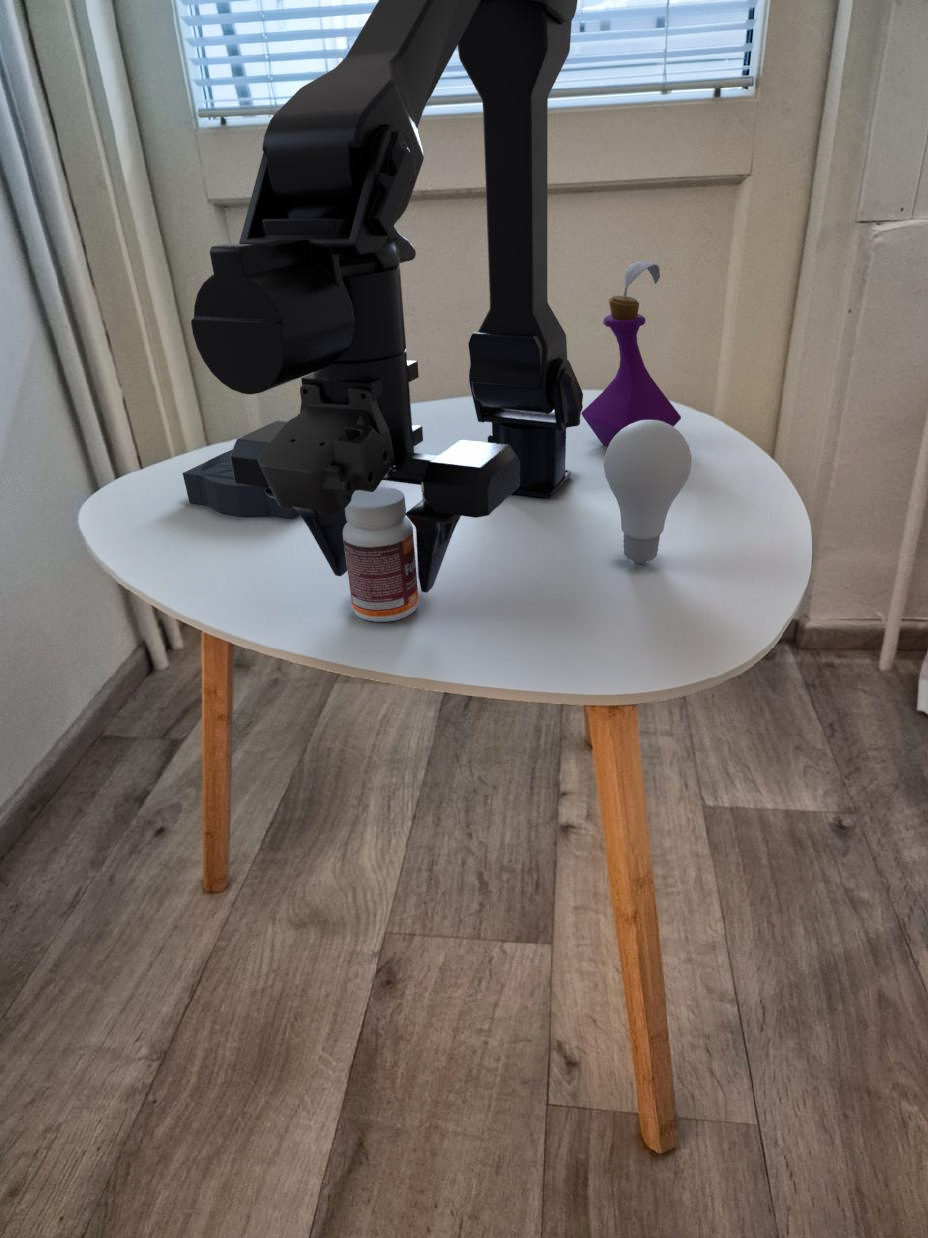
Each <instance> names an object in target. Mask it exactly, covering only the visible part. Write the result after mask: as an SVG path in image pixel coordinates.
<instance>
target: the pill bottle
mask: <svg viewBox="0 0 928 1238" xmlns="http://www.w3.org/2000/svg"><path fill="white" fill-rule="evenodd" d="M406 506H407V505H406V497H405V494H404V492H403V491H402V490H401V489H398V488H395V487H389V486H378V487H377V488H376V490H375V491H374V492H367V491H360V490H356V491H355V492H354V493H353V495H352V499H351V502H350V503H349V504H348V506H347V507H346V508H345V516H346V520H347V523H346V524H345V526H344V528H343V541H344V548H345V555H346V564H347V577H348V584H349V592H350V600H351V601H350V602H351V607H352V610H353V613H354V614H355V615H356V616H357V617H359V618H361V619H362V620H365V621H369V622H376V623H377V622H378V623H385V622H386V623H387V622H395V621H399V620H401V619H404V618H406V617H408V616H410V615H411V614H413V613H414V612H415V611H416V610H417V608H418V606H419V602H420V599H419V588H418V571H417V561H416V548H415V539H414V538H415V537H414V527H413V523H412V522H411V521H410V520H409V518H408V517H407V516H406V512H407V507H406Z"/></svg>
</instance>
